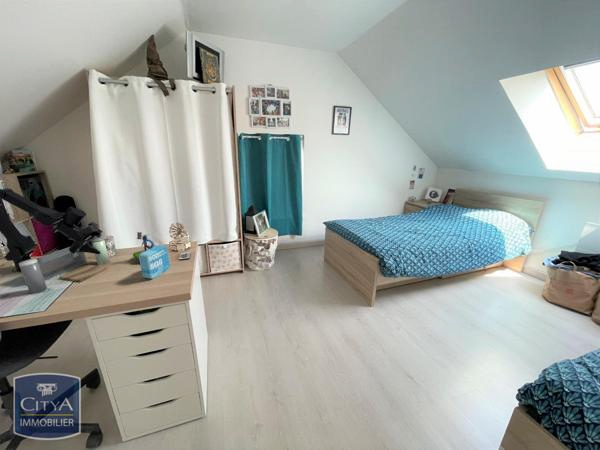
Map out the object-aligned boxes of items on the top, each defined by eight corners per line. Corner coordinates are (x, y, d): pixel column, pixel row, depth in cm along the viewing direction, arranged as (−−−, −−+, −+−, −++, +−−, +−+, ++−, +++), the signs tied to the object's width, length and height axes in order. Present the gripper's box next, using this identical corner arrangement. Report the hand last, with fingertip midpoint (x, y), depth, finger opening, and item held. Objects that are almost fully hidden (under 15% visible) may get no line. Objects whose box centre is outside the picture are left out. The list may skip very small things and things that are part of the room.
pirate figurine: (165, 252, 138) (161, 226, 134) (161, 261, 127) (156, 234, 122) (137, 255, 134) (131, 229, 129) (130, 265, 123) (124, 237, 118)
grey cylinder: (26, 292, 100) (15, 263, 96) (41, 286, 104) (31, 258, 100) (35, 294, 99) (24, 265, 94) (50, 287, 103) (40, 259, 99)
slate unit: (25, 280, 108) (18, 264, 106) (74, 260, 127) (69, 246, 124) (40, 283, 106) (34, 266, 104) (87, 262, 125) (83, 248, 122)
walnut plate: (59, 278, 110) (59, 276, 110) (87, 266, 121) (86, 264, 121) (80, 282, 108) (80, 280, 107) (106, 269, 119) (106, 267, 118)
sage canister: (94, 264, 123) (88, 240, 119) (104, 260, 128) (98, 236, 124) (102, 265, 122) (96, 241, 118) (112, 261, 127) (106, 237, 123)
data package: (151, 280, 110) (146, 255, 106) (142, 279, 111) (137, 254, 107) (170, 267, 121) (166, 245, 117) (162, 266, 122) (158, 244, 118)
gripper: (69, 225, 108) (103, 246, 114) (93, 213, 126) (122, 233, 131) (53, 243, 109) (88, 263, 115) (80, 229, 127) (109, 247, 132)
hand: (103, 250), depth 123 cm, fingers open, 6 cm apart
